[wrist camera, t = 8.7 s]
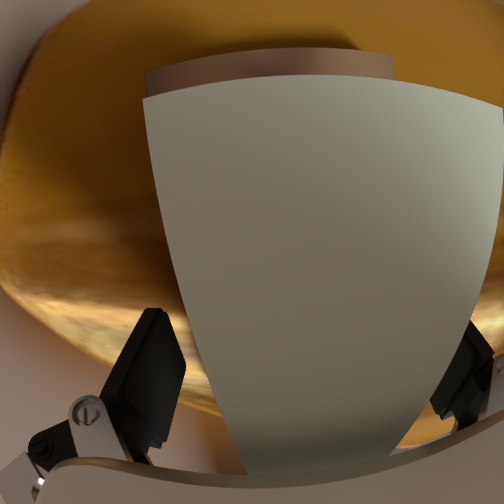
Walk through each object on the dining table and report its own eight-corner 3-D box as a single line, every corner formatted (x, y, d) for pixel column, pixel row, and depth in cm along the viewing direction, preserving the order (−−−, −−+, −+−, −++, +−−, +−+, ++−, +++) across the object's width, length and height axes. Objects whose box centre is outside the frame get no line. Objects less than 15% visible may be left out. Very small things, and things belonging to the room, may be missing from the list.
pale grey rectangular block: (336, 117, 9) (509, 111, 2) (328, 379, 15) (348, 499, 7) (235, 123, 9) (142, 98, 2) (266, 384, 15) (265, 508, 8)
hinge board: (374, 63, 9) (429, 37, 5) (357, 374, 18) (372, 428, 13) (161, 79, 10) (107, 57, 6) (224, 385, 19) (217, 441, 14)
